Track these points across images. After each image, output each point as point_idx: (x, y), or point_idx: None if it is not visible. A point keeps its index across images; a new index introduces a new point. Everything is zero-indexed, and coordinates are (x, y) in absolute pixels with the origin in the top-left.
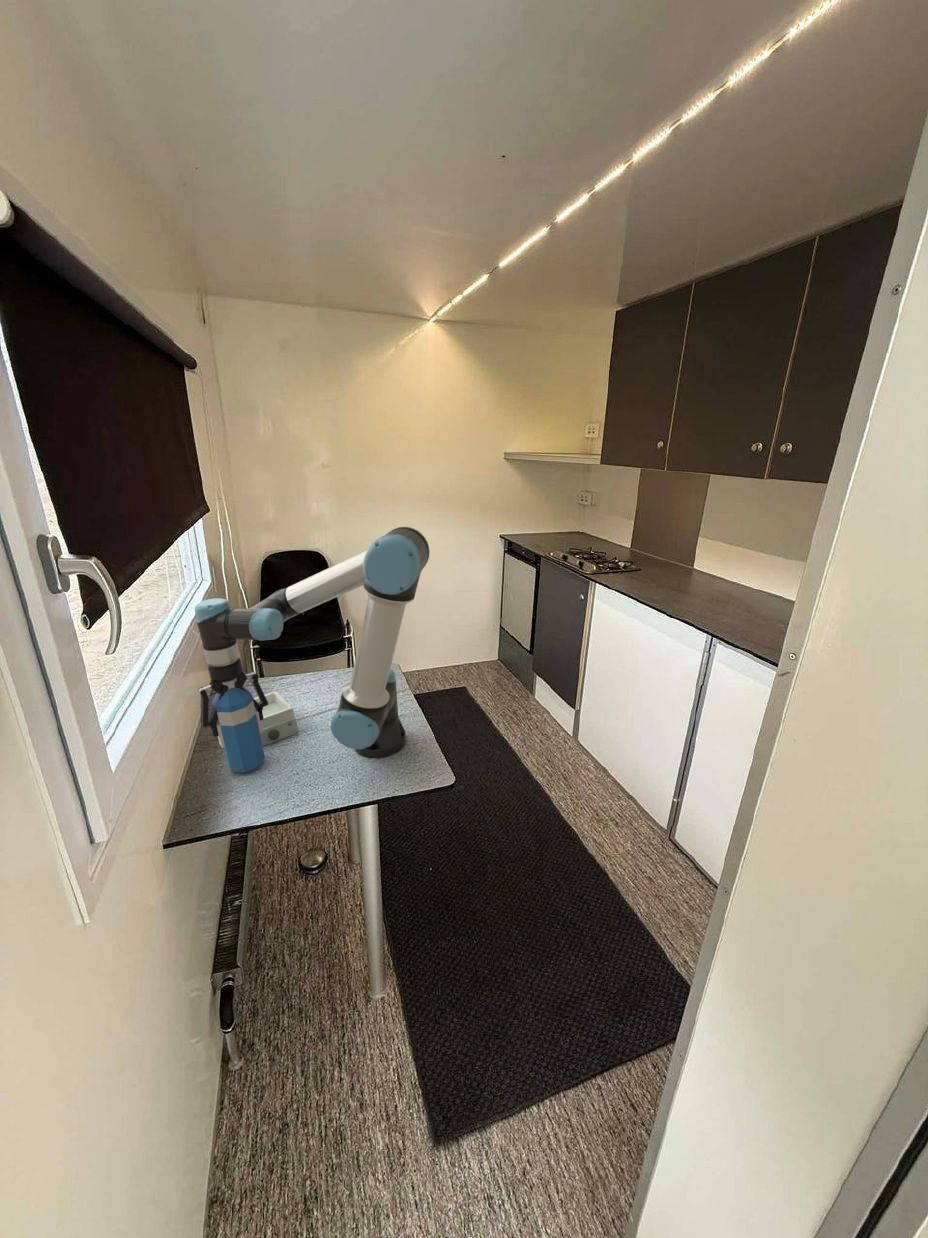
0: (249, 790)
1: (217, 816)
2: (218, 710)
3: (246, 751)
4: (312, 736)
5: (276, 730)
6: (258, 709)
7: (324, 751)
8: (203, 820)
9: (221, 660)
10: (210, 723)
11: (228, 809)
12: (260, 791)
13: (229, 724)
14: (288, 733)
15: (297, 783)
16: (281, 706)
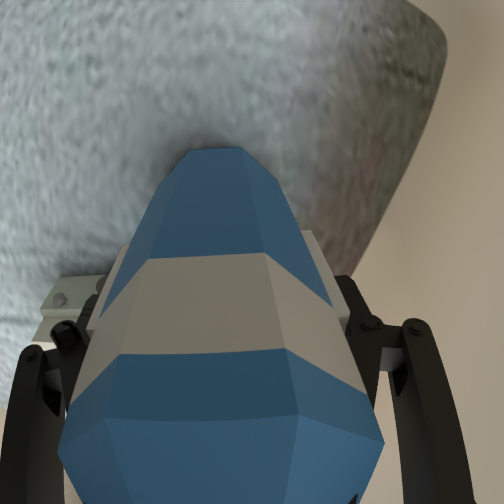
0: (248, 59)
1: (361, 12)
2: (364, 405)
3: (216, 172)
4: (25, 235)
5: (99, 293)
6: (78, 341)
7: (4, 140)
8: (394, 27)
9: None
10: (383, 338)
11: (329, 16)
12: (218, 32)
13: (289, 278)
14: (79, 281)
15: (105, 11)
16: None
